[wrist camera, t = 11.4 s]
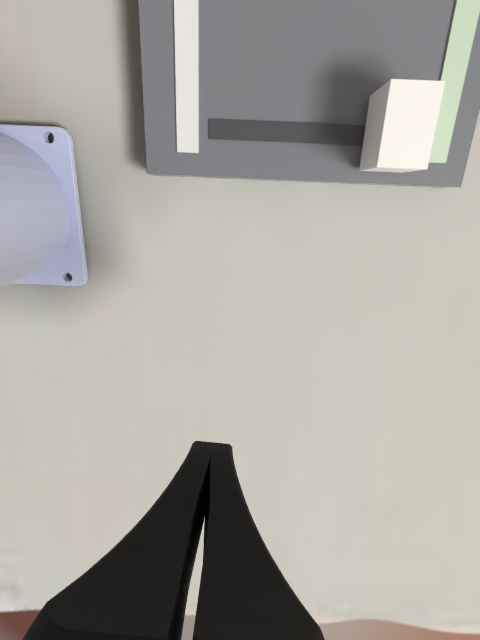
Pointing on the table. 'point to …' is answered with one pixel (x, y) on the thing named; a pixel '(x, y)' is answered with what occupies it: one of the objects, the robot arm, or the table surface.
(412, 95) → the block
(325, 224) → the table surface
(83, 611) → the robot arm
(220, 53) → the panel
